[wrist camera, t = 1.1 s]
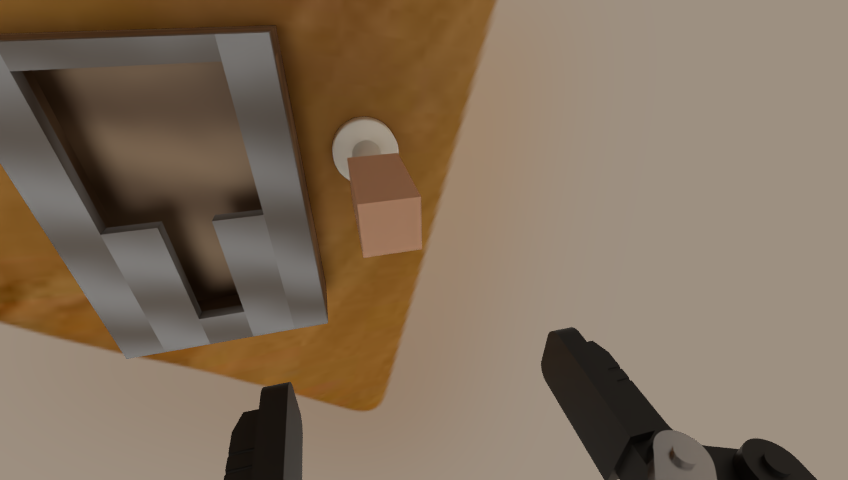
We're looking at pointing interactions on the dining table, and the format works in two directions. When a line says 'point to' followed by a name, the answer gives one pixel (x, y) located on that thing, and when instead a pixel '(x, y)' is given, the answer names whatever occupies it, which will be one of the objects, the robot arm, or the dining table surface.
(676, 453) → the robot arm
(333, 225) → the dining table surface
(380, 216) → the keyhole peg
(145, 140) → the keyhole plate
